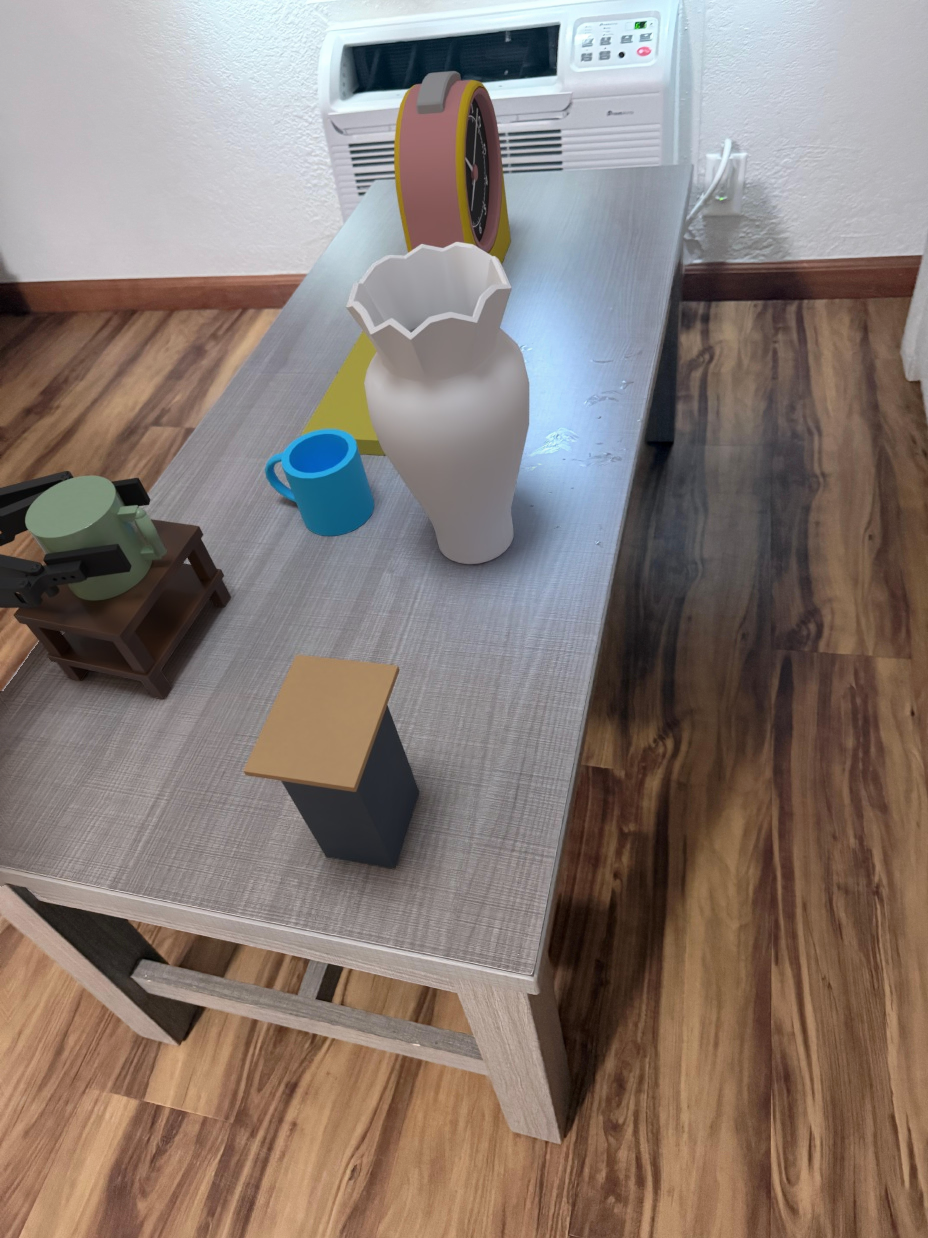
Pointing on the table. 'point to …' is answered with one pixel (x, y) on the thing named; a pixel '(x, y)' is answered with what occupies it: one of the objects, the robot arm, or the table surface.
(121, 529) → the green coffee cup
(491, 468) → the vase
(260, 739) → the stand
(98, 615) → the rack
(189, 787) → the table surface
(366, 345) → the flat olive board
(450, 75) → the alarm clock
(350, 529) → the mug
